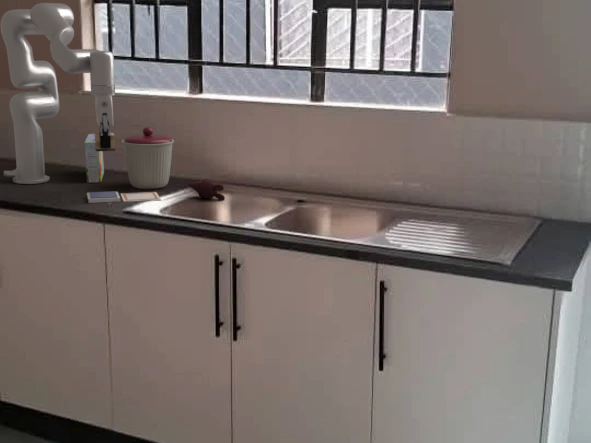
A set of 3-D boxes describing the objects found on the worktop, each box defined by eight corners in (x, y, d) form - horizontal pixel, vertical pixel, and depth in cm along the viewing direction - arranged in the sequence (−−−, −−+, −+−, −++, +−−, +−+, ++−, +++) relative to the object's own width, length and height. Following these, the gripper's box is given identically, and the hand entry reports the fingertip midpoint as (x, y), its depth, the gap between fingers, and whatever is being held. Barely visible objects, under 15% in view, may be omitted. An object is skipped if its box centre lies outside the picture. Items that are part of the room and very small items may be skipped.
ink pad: (88, 202, 266) (88, 198, 265) (87, 196, 275) (86, 192, 275) (120, 201, 269) (120, 197, 268) (117, 195, 278) (117, 190, 277)
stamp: (96, 151, 264) (95, 129, 263) (95, 148, 270) (94, 127, 268) (115, 150, 266) (114, 129, 264) (113, 147, 272) (113, 126, 270)
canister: (121, 182, 298) (119, 124, 293) (171, 180, 303) (170, 123, 298) (125, 192, 282) (123, 131, 276) (178, 190, 286) (177, 130, 281)
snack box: (89, 172, 316) (87, 133, 313) (104, 172, 317) (103, 133, 314) (85, 183, 296) (83, 141, 292) (101, 183, 297) (100, 141, 293)
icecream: (180, 179, 274) (216, 188, 267) (193, 170, 280) (229, 179, 273) (182, 197, 278) (218, 207, 270) (195, 188, 283) (231, 198, 276)
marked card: (123, 202, 268) (123, 200, 268) (120, 194, 279) (120, 193, 279) (160, 200, 271) (160, 199, 271) (156, 192, 282) (156, 191, 282)
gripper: (116, 92, 256) (118, 150, 261) (113, 87, 273) (114, 142, 277) (92, 93, 254) (94, 150, 259) (89, 88, 270) (91, 142, 275)
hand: (105, 145), depth 268 cm, fingers closed on stamp, 6 cm apart
